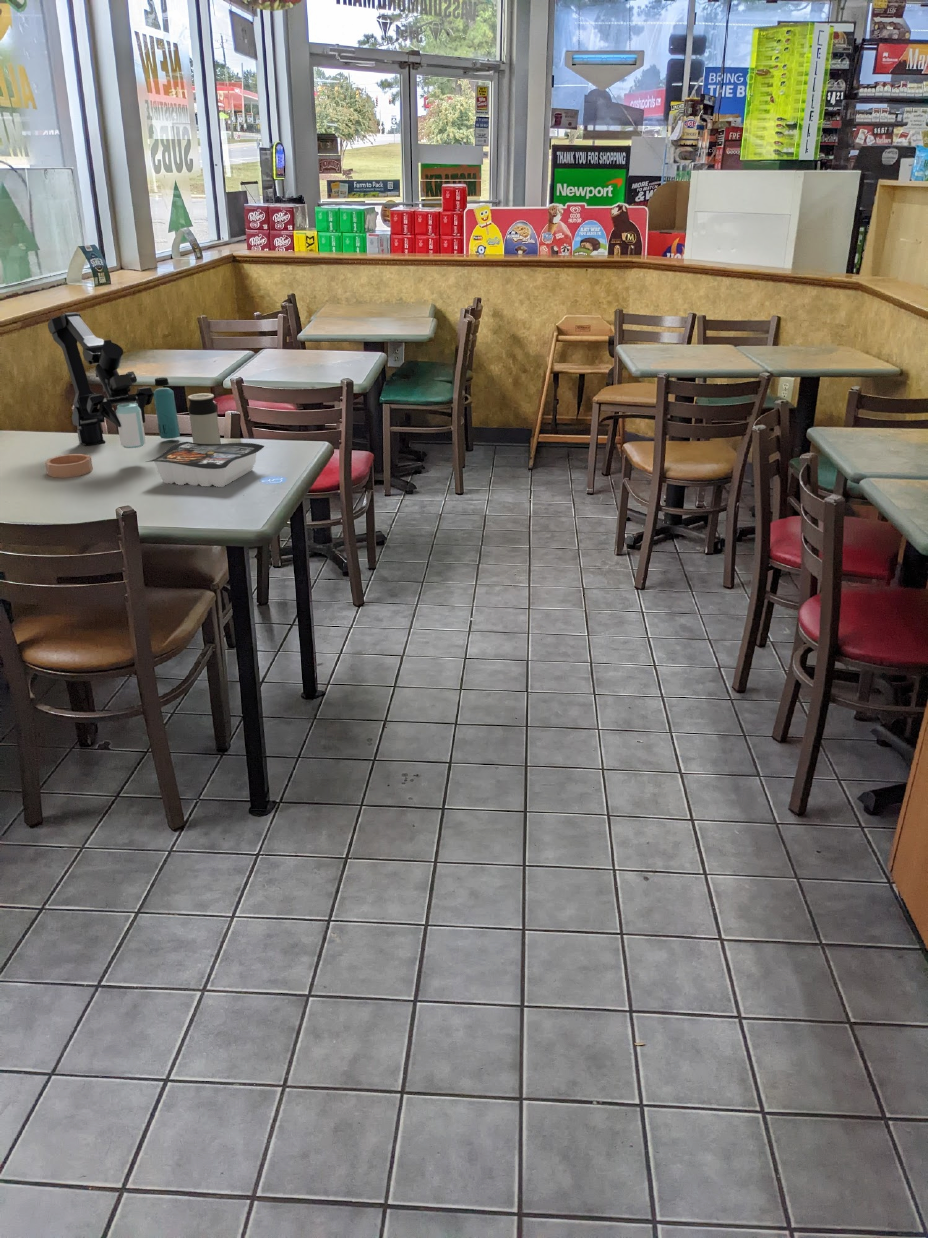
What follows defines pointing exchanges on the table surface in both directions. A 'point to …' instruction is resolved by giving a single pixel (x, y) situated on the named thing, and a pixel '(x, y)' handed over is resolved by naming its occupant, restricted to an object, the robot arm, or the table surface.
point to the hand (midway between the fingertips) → (132, 424)
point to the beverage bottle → (166, 410)
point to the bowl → (69, 465)
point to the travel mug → (204, 419)
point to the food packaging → (206, 463)
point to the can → (130, 425)
